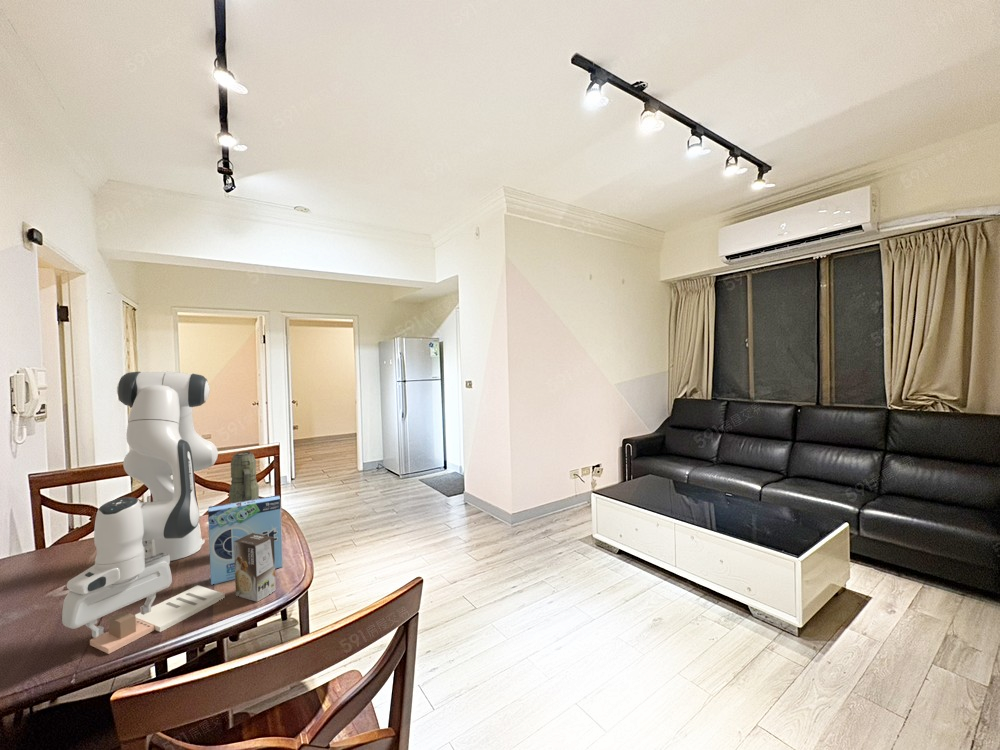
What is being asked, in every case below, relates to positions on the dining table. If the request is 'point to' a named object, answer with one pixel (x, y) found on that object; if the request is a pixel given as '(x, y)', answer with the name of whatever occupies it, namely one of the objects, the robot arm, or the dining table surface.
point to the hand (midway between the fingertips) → (122, 623)
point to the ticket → (180, 607)
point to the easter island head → (243, 478)
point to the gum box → (241, 532)
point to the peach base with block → (121, 632)
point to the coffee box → (254, 566)
